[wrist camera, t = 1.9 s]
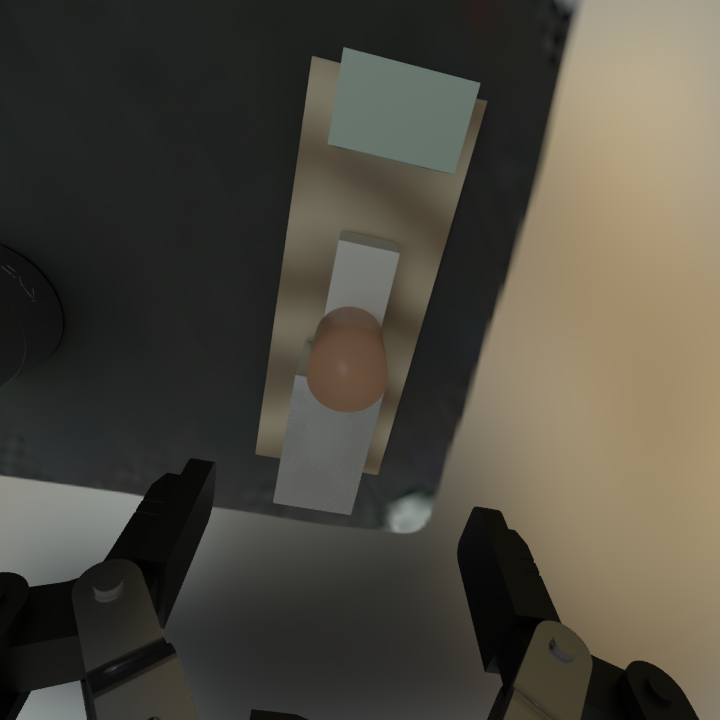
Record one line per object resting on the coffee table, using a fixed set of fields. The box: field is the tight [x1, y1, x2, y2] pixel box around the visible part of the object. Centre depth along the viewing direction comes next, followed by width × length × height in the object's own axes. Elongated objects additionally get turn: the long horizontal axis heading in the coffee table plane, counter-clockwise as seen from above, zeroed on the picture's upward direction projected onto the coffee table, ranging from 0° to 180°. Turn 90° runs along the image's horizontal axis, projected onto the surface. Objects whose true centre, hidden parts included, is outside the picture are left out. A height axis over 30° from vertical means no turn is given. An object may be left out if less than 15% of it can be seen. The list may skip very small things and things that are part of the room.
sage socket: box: [328, 48, 480, 174], centre depth 22 cm, size 4×6×6 cm, turn 78°
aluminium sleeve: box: [273, 340, 384, 515], centre depth 31 cm, size 10×5×5 cm, turn 168°
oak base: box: [255, 56, 487, 475], centre depth 30 cm, size 27×10×1 cm, turn 168°
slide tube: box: [307, 230, 400, 412], centre depth 26 cm, size 17×4×8 cm, turn 168°
